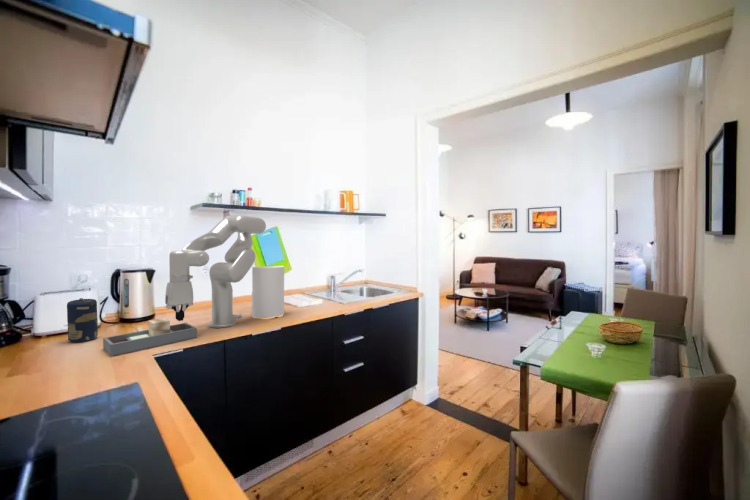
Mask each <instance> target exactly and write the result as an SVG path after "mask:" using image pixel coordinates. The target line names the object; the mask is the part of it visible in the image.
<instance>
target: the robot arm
mask: <svg viewBox="0 0 750 500" xmlns="http://www.w3.org/2000/svg"><path fill="white" fill-rule="evenodd" d="M266 228H267V225H266V221H265V220H264V219H263V218H260V217H255V216H248V215H239V214H238V215H236V214H235V215H227V216H224V218H222V219H221V220H220V221H219V222H218V223H217V224H215V226H214V227H213V228H211V230H209V231H208V232H207V233H204V234H202V235H200V236H198V237H196V238H195V239H193V240H191V241H190V242H188V243H187V244H186V245H185V246H184V247H183V248H182V249H181V250H173V251H170V252H169V259H168V261H169V264H168V265H169V282H167V283H166V287H165V295H164V303H165V308H166V309H168V310H173V311H174V312H175V319H176V321H178V322H181V321H184V318H185V311H186V309H188V308H189V307H191V306H193V305H194V291H193V285H192V281H191V279H193V278H194V277H193V275H191V274H190V267H203V266H206V265H207V264H208V263H209V261H210V255H209V254H208V252H206V251H207V250H210V249H213V248H217V247H219V246H222V245H223V244H225V242H227V240H228V239H230V238H231V237H232V235H233V234H234V233H237V237H236V240H235V241H234V243H232V245H231V246H230V248H229V249H228V250H227V251H226V252H225V254H224V261H225V262H222V261H220V262H219V261H218V262H216V263H213V264H212V265H211V266H210V269H209V279H210V283H211V284H210V285H211V321H210V322H209V323H208V327H209V328H213V329H223V328H229V327H232V325H233V326H234V325H236V324H237V320H239V319H242V318H243V315H242V314H241V313H240V314H234V310H233V309H234V307H233V302H234V299H233V296H234V295H233V292H234V291H233V285H232V284H233V283H239V282H241V281H242V280H243V279H244V278H245V276H246V275H247V274H248V272H249V271H250V269H251V268H252V267H253V265H254V263H255V262H256V253H255V252H256V251H254V249H253V248H252V247H253V242H254V241H253V238H252V234H253V235H261V234H263V233H264V232H265V230H266Z"/></svg>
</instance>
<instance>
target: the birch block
mask: <svg viewBox="0 0 750 500" xmlns="http://www.w3.org/2000/svg"><path fill="white" fill-rule="evenodd" d="M170 326H171V320H169V319H167V318H166V317H164V318H159V319H152V320H148V330H149V335H150V336H154V335H159V334H165V333H170Z"/></svg>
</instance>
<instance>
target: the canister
mask: <svg viewBox="0 0 750 500" xmlns="http://www.w3.org/2000/svg"><path fill="white" fill-rule="evenodd" d="M66 313H67V315H66V316H67V317H66V319H67V320H66V321H67V339H68V341H69V342H70V343H71V342H72V343H80V342H86V341H91V340H93V339H95V338H97V337H98V335H99V329H98V328H99V321H98V301H97V300H96V299H93V298H83V297H81V298H79V299H75V300H70V301H68V302H67V304H66Z"/></svg>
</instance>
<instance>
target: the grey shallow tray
mask: <svg viewBox="0 0 750 500" xmlns="http://www.w3.org/2000/svg"><path fill="white" fill-rule="evenodd" d="M197 330H198V329H197V327H196V326H194V325H192V324H189V323H188V322H183V323H176V324H172V325H171V324H170V333H165V334H159V335H154V336H150V335H149V329H145V330H139V331H134V332H128V333H122V334H117V335H116V334H115V335H112V336H107V337H102V340H103V341H102V344H103V347H102V349H103V350H104V352H105V353H107V354H108V356H110V357H111V358H113V357H115V356H120V355H121V354H122V355H125V354H129V353H130V354H131V353H134V352H139V351H143V350H147V349H153V348H157V347H161V346H167V345H171V344H175V343H179V342H183V341H184V342H185V341H188V340H193V339H197V338H198V337H197V336H198V334H197V332H198V331H197ZM112 356H113V357H112Z"/></svg>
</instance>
